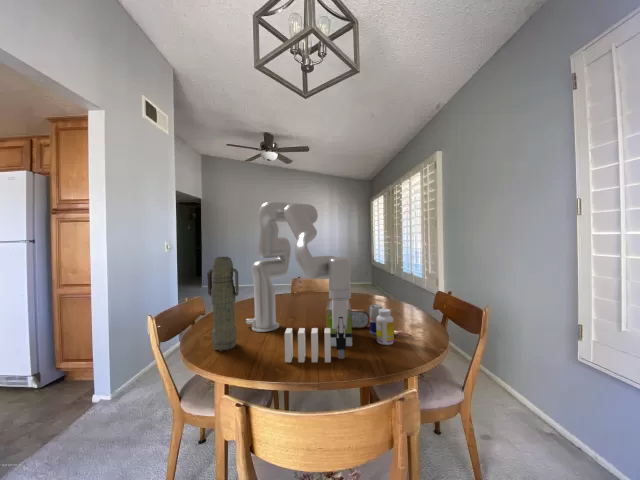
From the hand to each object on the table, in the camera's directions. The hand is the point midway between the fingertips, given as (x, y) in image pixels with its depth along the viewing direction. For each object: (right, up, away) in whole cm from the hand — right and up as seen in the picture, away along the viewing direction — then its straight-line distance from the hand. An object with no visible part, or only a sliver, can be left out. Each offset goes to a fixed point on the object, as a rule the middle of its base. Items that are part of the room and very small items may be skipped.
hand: (340, 345), depth 98 cm
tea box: (+1, -5, +18) cm, 19 cm away
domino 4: (-4, -5, 0) cm, 7 cm away
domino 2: (-13, -5, +1) cm, 14 cm away
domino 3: (-9, -5, 0) cm, 10 cm away
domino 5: (0, -3, 0) cm, 3 cm away
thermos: (-44, -5, +13) cm, 47 cm away
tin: (+8, -4, +33) cm, 34 cm away
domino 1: (-18, -5, +1) cm, 19 cm away
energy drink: (+17, -4, +25) cm, 30 cm away
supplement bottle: (+19, -4, +14) cm, 24 cm away
